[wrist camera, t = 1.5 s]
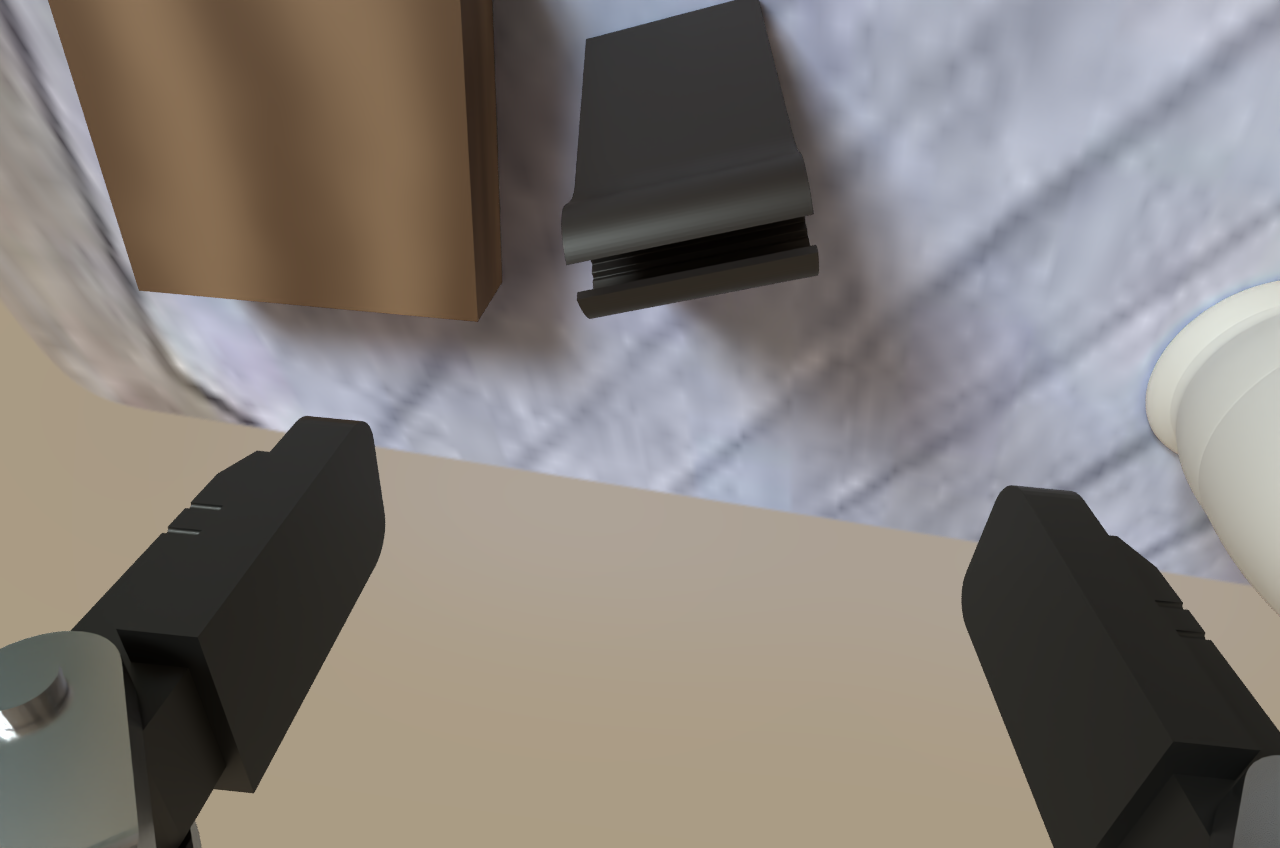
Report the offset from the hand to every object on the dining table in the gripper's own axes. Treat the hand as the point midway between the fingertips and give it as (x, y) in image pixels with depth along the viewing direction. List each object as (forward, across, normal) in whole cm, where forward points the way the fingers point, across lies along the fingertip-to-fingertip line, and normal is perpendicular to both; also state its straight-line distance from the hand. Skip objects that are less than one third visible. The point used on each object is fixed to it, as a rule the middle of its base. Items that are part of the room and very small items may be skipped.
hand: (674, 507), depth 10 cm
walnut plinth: (+22, +14, 0) cm, 26 cm away
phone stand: (+22, 0, 0) cm, 22 cm away
